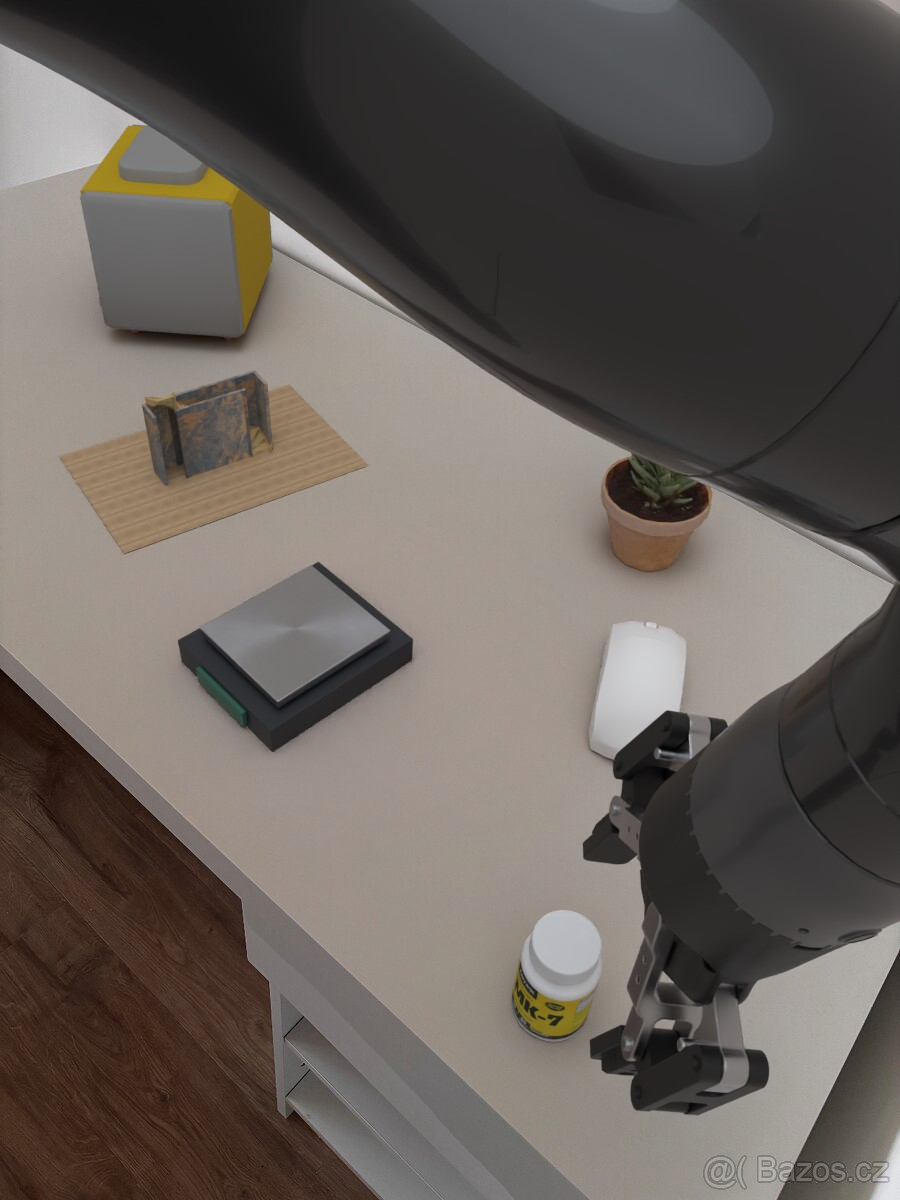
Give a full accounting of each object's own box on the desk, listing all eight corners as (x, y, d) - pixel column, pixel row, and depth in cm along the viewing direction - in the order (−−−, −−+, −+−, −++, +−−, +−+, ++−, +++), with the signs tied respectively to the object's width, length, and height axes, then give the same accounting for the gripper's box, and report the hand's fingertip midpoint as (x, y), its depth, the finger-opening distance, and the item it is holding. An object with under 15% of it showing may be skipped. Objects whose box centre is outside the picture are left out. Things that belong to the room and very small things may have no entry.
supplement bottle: (495, 1008, 65) (507, 942, 59) (541, 954, 68) (556, 886, 62) (558, 1060, 63) (576, 997, 57) (602, 1003, 66) (624, 937, 60)
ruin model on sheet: (124, 553, 93) (104, 464, 86) (58, 456, 102) (36, 369, 95) (368, 465, 104) (368, 380, 97) (289, 384, 113) (283, 301, 106)
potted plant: (574, 561, 95) (618, 313, 78) (613, 504, 101) (662, 262, 84) (679, 601, 92) (749, 353, 75) (713, 540, 98) (786, 297, 81)
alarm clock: (148, 262, 131) (122, 107, 118) (275, 271, 130) (264, 117, 117) (101, 345, 117) (66, 180, 104) (244, 356, 116) (227, 191, 103)
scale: (268, 755, 78) (265, 734, 76) (177, 663, 84) (172, 642, 82) (412, 660, 86) (413, 638, 84) (319, 582, 92) (318, 561, 90)
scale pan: (278, 708, 78) (277, 701, 77) (200, 634, 83) (198, 627, 82) (390, 637, 83) (390, 630, 83) (311, 571, 88) (311, 564, 88)
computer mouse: (682, 654, 87) (698, 600, 83) (667, 778, 78) (684, 725, 74) (605, 638, 88) (617, 584, 84) (581, 759, 79) (593, 705, 75)
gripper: (675, 613, 37) (524, 788, 50) (719, 1053, 29) (526, 1121, 42) (866, 648, 38) (670, 808, 51) (955, 1074, 31) (698, 1134, 44)
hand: (606, 949), depth 47 cm, fingers open, 8 cm apart
